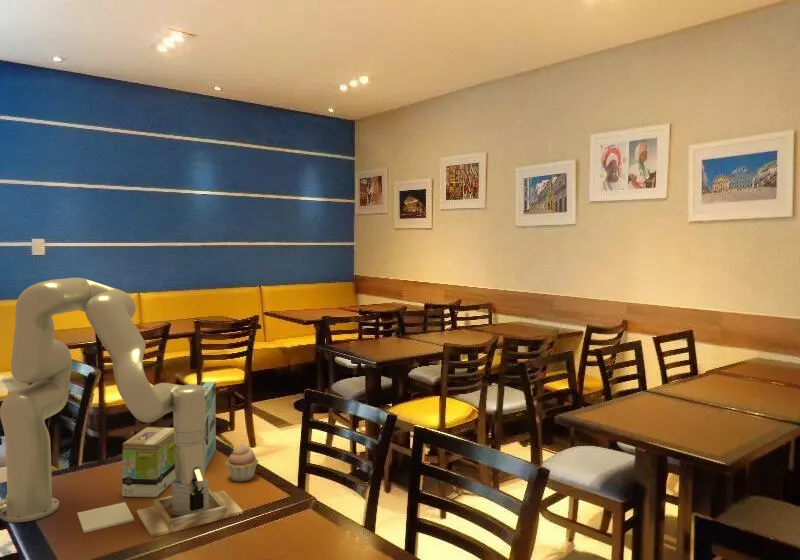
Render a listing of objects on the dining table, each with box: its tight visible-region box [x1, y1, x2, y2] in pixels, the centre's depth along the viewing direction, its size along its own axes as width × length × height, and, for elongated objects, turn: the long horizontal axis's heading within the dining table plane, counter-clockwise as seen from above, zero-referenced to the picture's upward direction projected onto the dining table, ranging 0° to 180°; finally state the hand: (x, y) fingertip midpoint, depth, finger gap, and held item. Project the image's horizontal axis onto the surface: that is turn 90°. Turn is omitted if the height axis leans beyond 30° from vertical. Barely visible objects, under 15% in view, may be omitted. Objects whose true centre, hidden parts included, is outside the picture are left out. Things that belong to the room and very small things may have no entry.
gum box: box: [199, 381, 217, 473], centre depth 187 cm, size 20×5×23 cm, turn 7°
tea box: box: [121, 426, 178, 498], centre depth 168 cm, size 15×10×15 cm, turn 179°
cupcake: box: [225, 443, 259, 483], centre depth 175 cm, size 9×9×10 cm
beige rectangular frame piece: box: [136, 487, 244, 539], centre depth 152 cm, size 22×15×3 cm
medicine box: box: [171, 478, 210, 517], centre depth 152 cm, size 8×4×9 cm, turn 73°
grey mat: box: [77, 501, 135, 534], centre depth 149 cm, size 11×11×1 cm
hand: (191, 502), depth 152 cm, fingers closed on medicine box, 9 cm apart
